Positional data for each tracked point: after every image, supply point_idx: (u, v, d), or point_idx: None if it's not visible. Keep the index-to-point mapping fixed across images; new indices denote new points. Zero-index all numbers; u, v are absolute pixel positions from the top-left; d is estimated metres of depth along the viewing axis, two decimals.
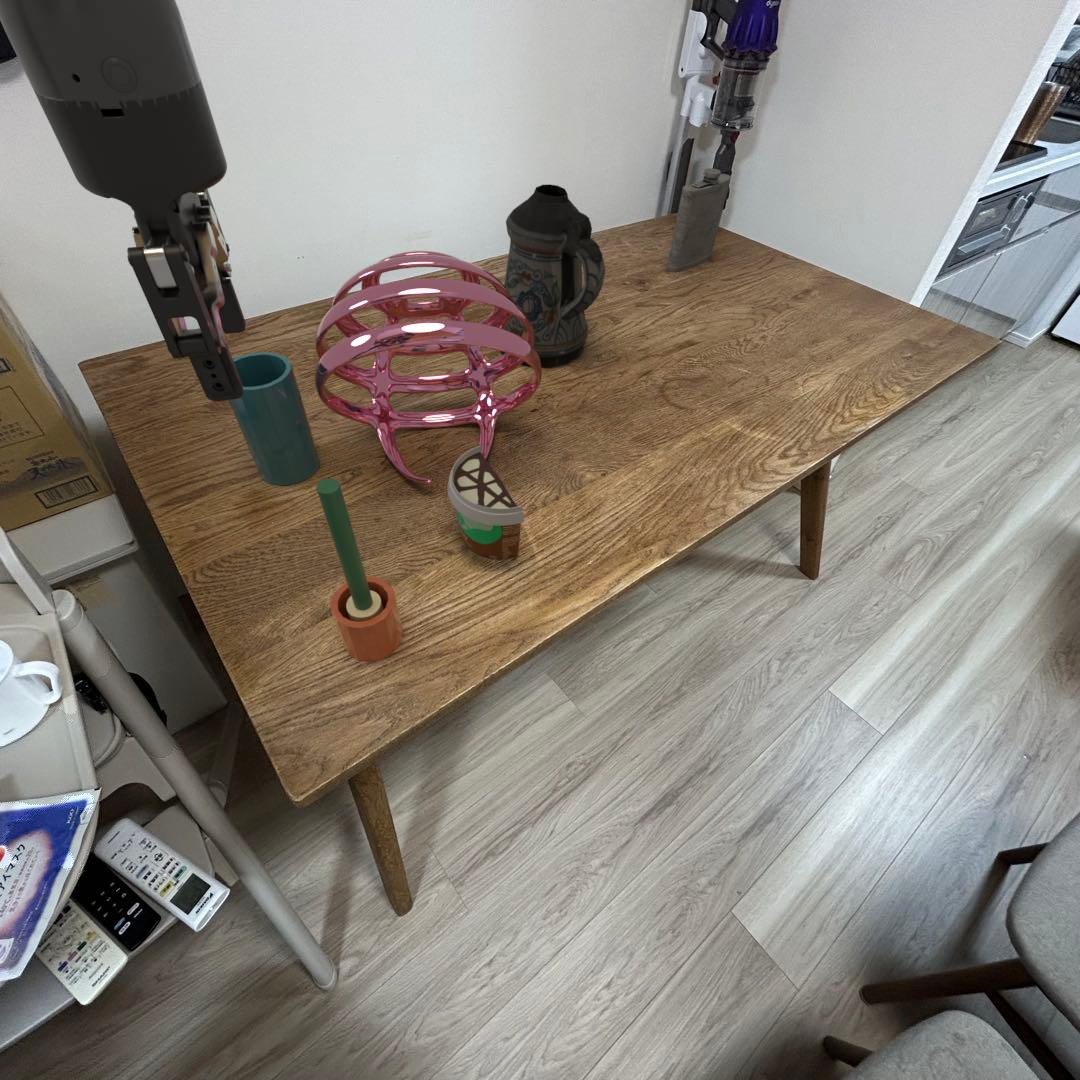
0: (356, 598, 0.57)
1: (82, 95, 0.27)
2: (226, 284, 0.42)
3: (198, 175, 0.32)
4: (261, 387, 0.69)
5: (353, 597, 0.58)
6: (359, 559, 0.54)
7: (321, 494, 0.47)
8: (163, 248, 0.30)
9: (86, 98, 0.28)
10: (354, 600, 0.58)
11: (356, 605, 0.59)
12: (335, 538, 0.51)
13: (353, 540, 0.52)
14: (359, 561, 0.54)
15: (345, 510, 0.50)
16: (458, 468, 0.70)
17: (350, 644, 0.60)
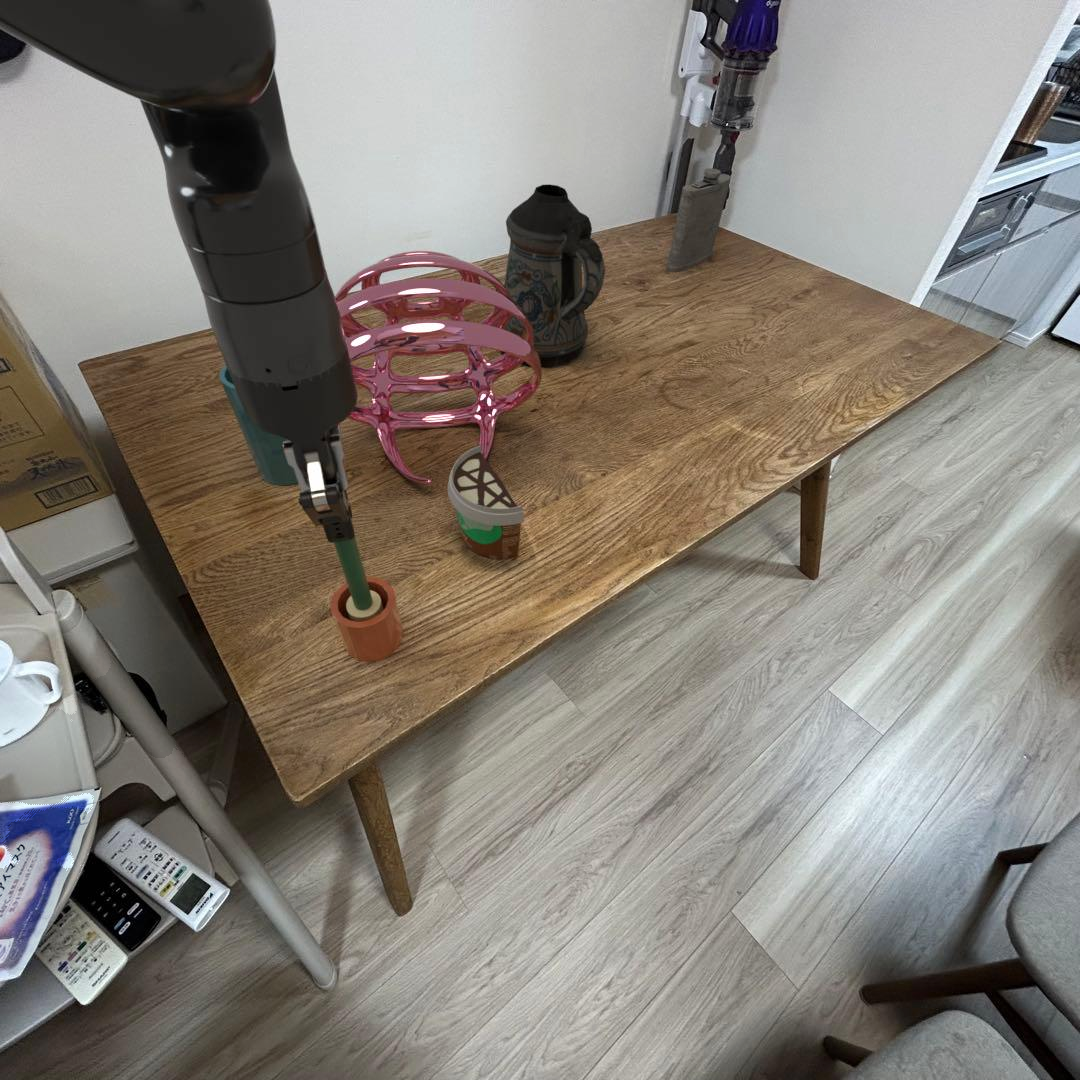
0: (356, 598, 0.57)
1: (270, 380, 0.36)
2: None
3: (342, 413, 0.40)
4: None
5: (353, 597, 0.58)
6: (359, 559, 0.54)
7: None
8: (326, 498, 0.40)
9: (273, 381, 0.36)
10: (354, 600, 0.58)
11: (356, 605, 0.59)
12: None
13: (353, 540, 0.52)
14: (359, 561, 0.54)
15: None
16: (458, 468, 0.70)
17: (350, 644, 0.60)
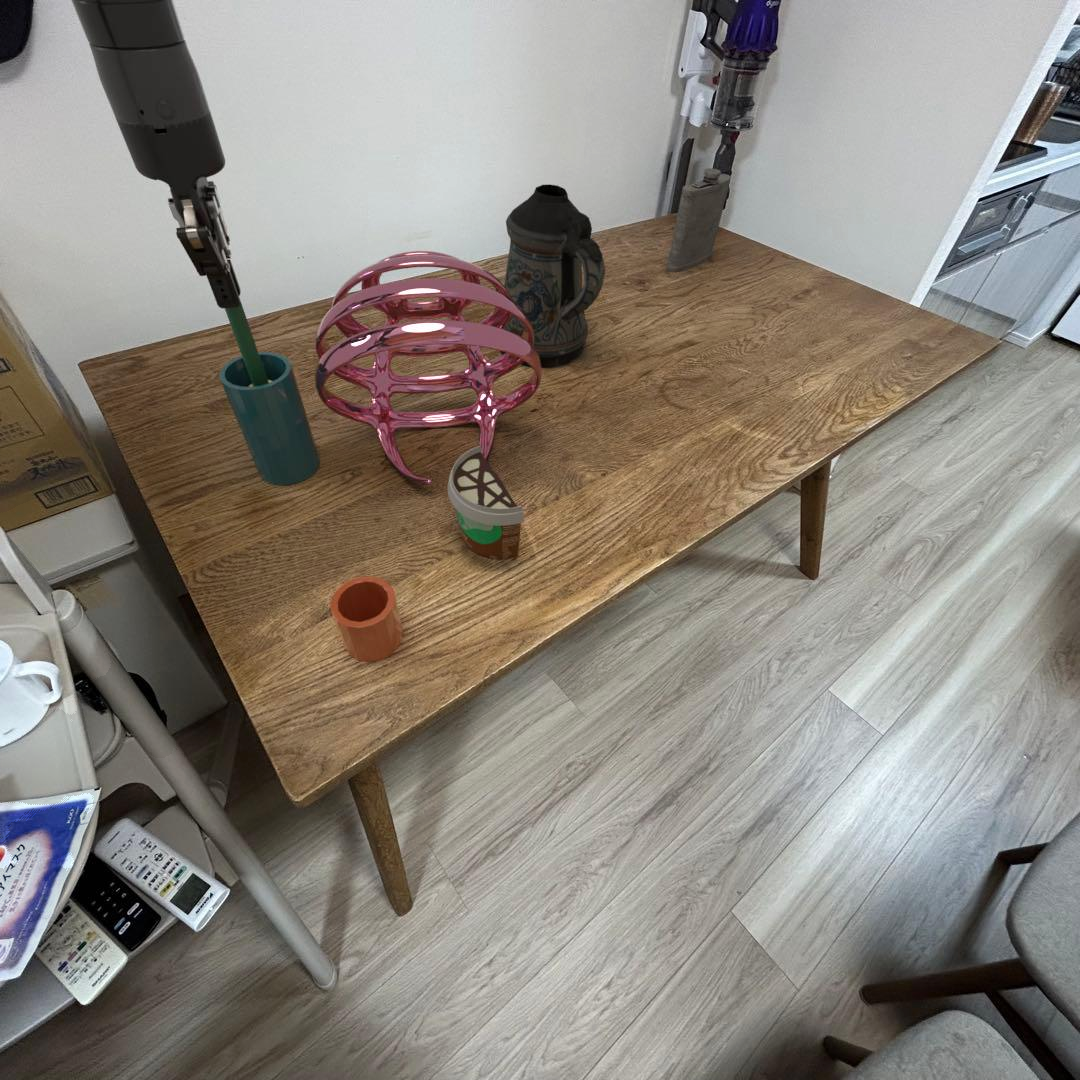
0: (253, 376, 0.71)
1: (144, 121, 0.49)
2: (227, 263, 0.63)
3: (208, 166, 0.53)
4: (261, 387, 0.69)
5: (250, 376, 0.71)
6: (250, 335, 0.68)
7: None
8: (197, 232, 0.54)
9: (146, 123, 0.49)
10: (252, 380, 0.71)
11: None
12: None
13: (242, 313, 0.65)
14: (250, 337, 0.68)
15: None
16: (458, 468, 0.70)
17: (350, 644, 0.60)
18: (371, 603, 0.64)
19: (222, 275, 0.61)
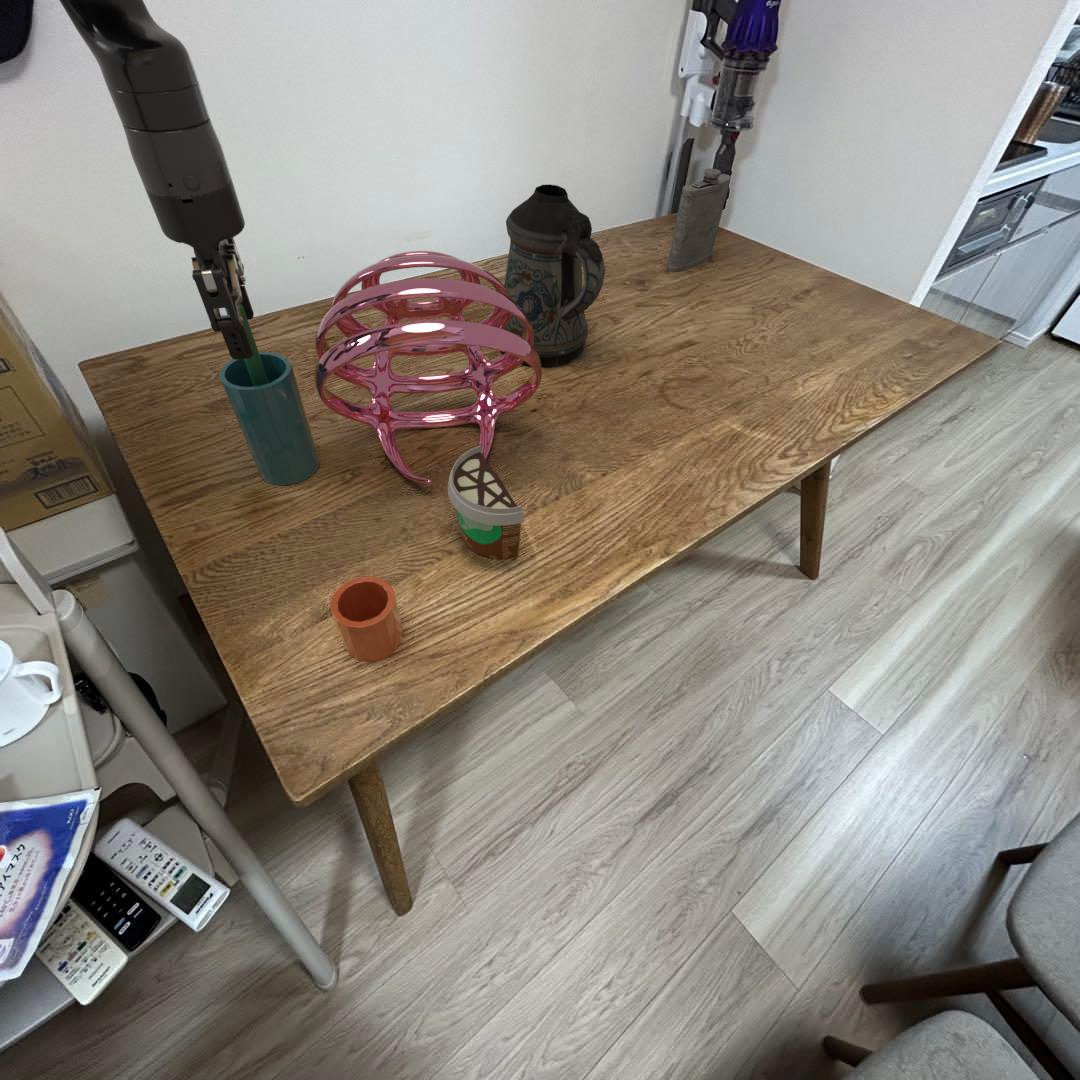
0: None
1: (172, 193, 0.53)
2: (242, 289, 0.68)
3: (229, 230, 0.57)
4: (261, 387, 0.69)
5: None
6: (266, 379, 0.72)
7: (228, 312, 0.65)
8: (211, 270, 0.56)
9: (174, 194, 0.53)
10: None
11: None
12: None
13: (259, 359, 0.70)
14: (266, 381, 0.72)
15: (249, 330, 0.67)
16: (458, 468, 0.70)
17: (350, 644, 0.60)
18: (371, 603, 0.64)
19: (236, 329, 0.62)
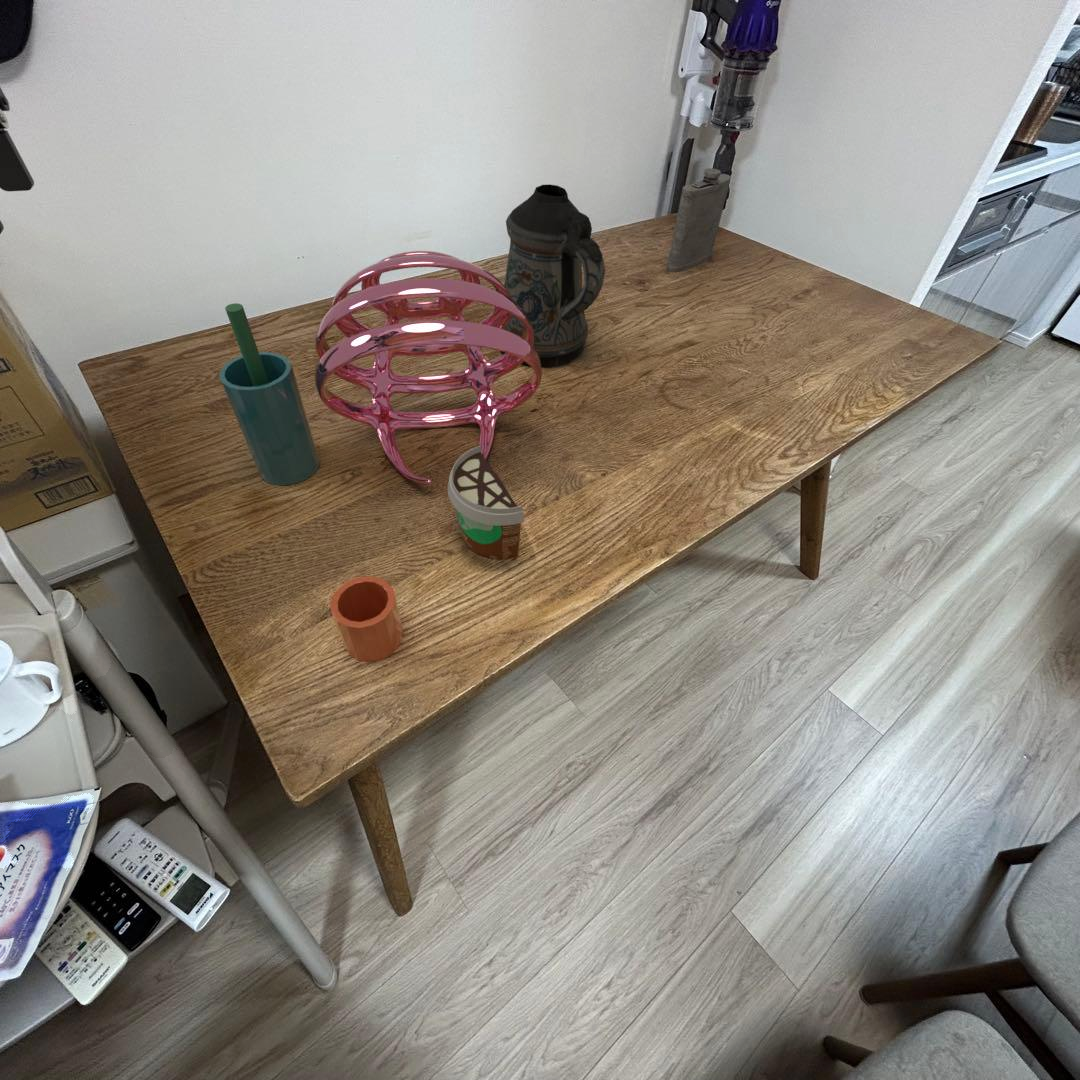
0: None
1: None
2: (1, 135, 0.43)
3: None
4: (261, 387, 0.69)
5: None
6: (266, 379, 0.72)
7: (228, 312, 0.65)
8: None
9: None
10: None
11: None
12: (244, 355, 0.69)
13: (259, 359, 0.70)
14: (266, 381, 0.72)
15: (249, 330, 0.67)
16: (458, 468, 0.70)
17: (350, 644, 0.60)
18: (371, 603, 0.64)
19: None
